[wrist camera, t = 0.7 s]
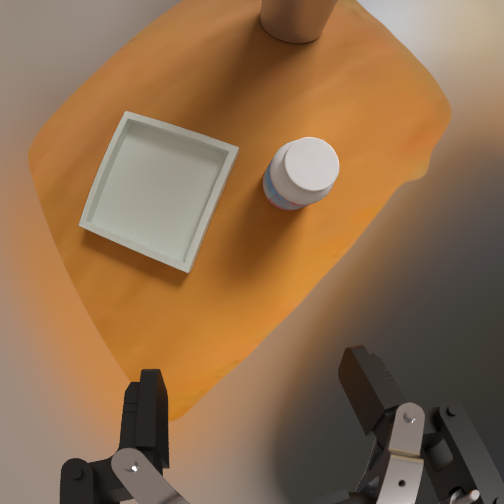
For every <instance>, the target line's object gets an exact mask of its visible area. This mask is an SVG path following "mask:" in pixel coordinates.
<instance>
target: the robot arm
mask: <svg viewBox="0 0 504 504" xmlns="http://www.w3.org/2000/svg"><path fill="white" fill-rule="evenodd" d="M336 2H337V0H262V6H261V13H260V22H261V25H262V27H263V28H264V30H265V31H266V32H268V33H269V34H270V35H271V36H273V37H275V38H277V39H279V40H282V41H285V42H289V43H308V42H311V41H314V40H315V39H317V38H318V37H319V36H320V35H321V33H322V31H323V29H324V27H325V25H326V23H327V21H328V19H329V17H330V15H331V12H332V10H333V8H334V6H335V4H336ZM338 376H339V380H340V383H341V384H342V387H343V389H344V391H345V393H346V395H347V397H348V399H349V401H350V403H351V405H352V407H353V409H354V411H355V414H356V416H357V418H358V420H359V422H360V424H361V426H362V428H363V431H364V433H365V435H366V436H369V435H372V434H375V436H376V439H375V442H374V445H373V449H372V452H371V455H370V458H369V462H368V465H367V468H366V471H365V473H364V475H363V477H362V479H361V480H360V482H359V484H358V486H357V489H356V491H355V492H347V489H342V490H339V491H336V492H333V493H329V494H327V495H323V496H321V497H319V498H317V499H315V500H313V501H311V502H309V503H307V504H415V500H416V496H417V492H418V488H419V483H420V479H421V474H422V469H423V464H424V466H425V469H426V471H427V473H428V476H429V478H430V480H431V482H432V485H433V487H434V489H435V492H436V494H437V497H438V499H439V502H440V503H439V504H504V484H503V482H502V479H501V477H500V475H499V473H498V471H497V469H496V467H495V465H494V463H493V461H492V459H491V458H490V455H489V453H488V451H487V450H486V448H485V446H484V444H483V442H482V440H481V439H480V437H479V435H478V433H477V431H476V429H475V428H474V426H473V424H472V423H471V421H470V419H469V417H468V416H467V414H466V412H465V411H464V409H463V407H462V406H461V405H460V404H459V403H458V402H457V401H454V400H446V401H444V402H443V403H442V404H441V405H440V406H439V407H437V408H428V409H427V408H426V409H422V408H421V407H419V406H418V405H416V404H414V403H409V402H408V401H407V399H406V398H405V396H404V394H403V393H402V391H401V389H400V388H399V386H398V385H397V383H396V381H395V380H394V378H393V377H392V375H391V373H390V372H389V370H387V367H386V365H385V364H384V362H383V361H382V360H381V359H380V358H379V357H378V356H376V355H375V354H374V353H373V354H369V353H368V351H367V350H366V348H365V346H363V345H358V346H353V347H348V348H346V349H345V351H344V354H343V357H342V360H341V363H340V366H339V369H338ZM444 439H445V440H444ZM445 441H446V442H445ZM446 443H447V444H446ZM168 445H169V442H168V395H167V390H166V387H165V384H164V381H163V377H162V374H161V371H160V369H142V371H141V376H140V382H131V383H130V385H129V386H128V388H127V389H126V391H125V396H124V405H123V414H122V422H121V433H120V443H119V448H118V450H117V451H116V453H115V454H114V455H113V456H111V457H110V458H108V459H105V460H100V461H95V462H90V463H87V462H86V461H84V460H82V459H79V458H73V459H70V460H68V461H67V462H65V463H64V465H63V466H62V469H61V480H60V504H120V501H125V500H130V499H135V500H136V501H137V502H138V503H139V504H190V503H189V502H188V501H186V500H185V499H184V498H183V497H182V496H181V495H180V494H179V493H178V492H177V491H176V490H175V489H174V488H173V487H172V486H171V485H170V484H169V483H168V482H167V481H166V480H165V479H164V478H163V468H169V447H168ZM447 445H448V446H447ZM448 447H449V448H448ZM449 449H450V450H449ZM450 451H451V452H450ZM451 453H452V454H451Z"/></svg>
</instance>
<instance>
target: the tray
mask: <svg viewBox="0 0 504 504" xmlns="http://www.w3.org/2000/svg"><path fill="white" fill-rule="evenodd" d="M238 154H239V147H236V146H233V145H231V144H228V143H225V142H223V141H220V140H217V139H214V138H211V137H208V136H206V135H203V134H200V133H197V132H194V131H191V130H188V129H185V128H182V127H179V126H175V125H172V124H169V123H166V122H162V121H159V120H156V119H152V118H149V117H146V116H142V115H138V114H135V113H131V112H127V111H125V113H124V115H123V117H122V119H121V121H120V123H119V125H118V127H117V129H116V131H115V133H114V135H113V138H112V140H111V142H110V144H109V146H108V149H107V151H106V153H105V155H104V158H103V160H102V162H101V165H100V167H99V170H98V172H97V175H96V177H95V180H94V182H93V185H92V188H91V190H90V193H89V196H88V199H87V201H86V204H85V207H84V210H83V213H82V216H81V219H80V222H79V225H78V226H81V227H83V228H85V229H87V230H89V231H91V232H94V233H96V234H98V235H100V236H102V237H105V238H107V239H109V240H111V241H114V242H116V243H118V244H120V245H123V246H125V247H127V248H130V249H132V250H134V251H137V252H139V253H141V254H144V255H146V256H148V257H151V258H153V259H155V260H158V261H160V262H162V263H165V264H167V265H170V266H172V267H175V268H177V269H179V270H182V271H184V272H187V273H189V272H190V271H191V270H192V268H193V265H194V263H195V260H196V258H197V255H198V252H199V250H200V247H201V244H202V242H203V239H204V237H205V234H206V232H207V229H208V227H209V224H210V222H211V219H212V217H213V214H214V212H215V209H216V207H217V204H218V202H219V199H220V197H221V194H222V192H223V190H224V187H225V185H226V182H227V180H228V178H229V175H230V173H231V171H232V168H233V166H234V164H235V161H236V159H237V157H238Z"/></svg>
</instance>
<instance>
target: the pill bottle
mask: <svg viewBox="0 0 504 504" xmlns="http://www.w3.org/2000/svg"><path fill="white" fill-rule="evenodd" d="M338 173H339V160H338V157H337V154H336V153H335V151H334V149H333V148H332V147H331V146H330V145H329V144H328V143H326V142H325V141H323V140H321V139H318V138H314V137H306V138H301V139H299V140H295V141H291V142H289V143H287V144H285V145H283V146H282V147H281V148H280V149H279V150H278V151H277V152H276V154H275V155H274V157H273V159H272V160H271V162H270V164H269V166H268V168H267V169H266V171H265V174H264V177H263V189H264V193H265V195H266V197H267V199H268V200H269V201H270V203H271V204H273V205H274V206H275V207H277V208H279V209H282V210H296V209H300V208H302V207H305V206H308V205H310V204H313V203H316V202H318V201H320V200H321V199H323V198H324V197H325V196H326V195H327V194H328V193H329V191H330V190H331V188H332V186H333V184H334V181H335V180H336V178H337V176H338Z"/></svg>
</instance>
